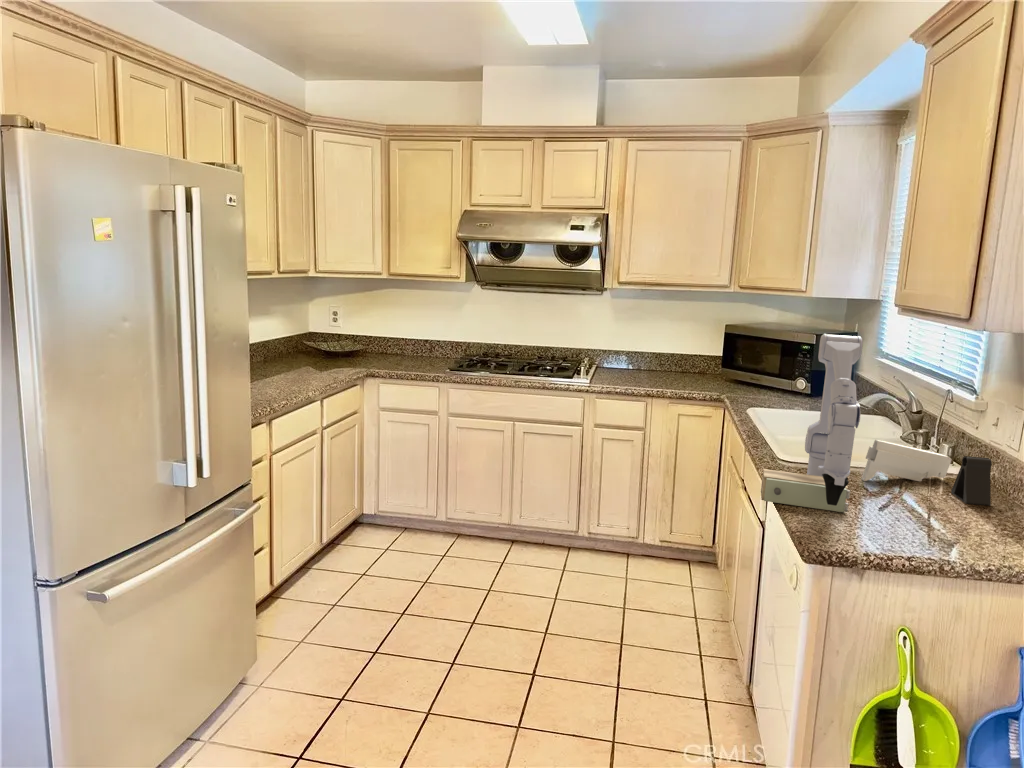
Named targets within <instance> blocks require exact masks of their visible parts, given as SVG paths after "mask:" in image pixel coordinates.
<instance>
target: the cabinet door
mask: <svg viewBox="0 0 1024 768" xmlns="http://www.w3.org/2000/svg"><path fill="white" fill-rule="evenodd" d="M850 495H851V490H850V489H848V490H847V489H845V488H844V490H843V492H842V494H841V496H840V499H839V501H838V503H837V505H836V506H835V505H828V504H827V500H826V487H825V486H823V485H815V484H808V483H800V482H793V481H785V480H778V479H770V478H767V479H766V488H765V496H764V500H763V501H764V502H768V503H769V502H771V503H776V504H781V505H782V504H784V505H788V506H789V505H791V506H798V507H805V508H811V509H817V510H825V511H826V510H827V511H832V512H833V511H834V512H839V513H844V512H847V513H848V510H849V502H846V503H845V499H846V500H849V499H850Z"/></svg>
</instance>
